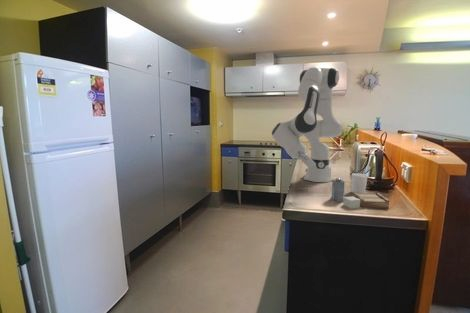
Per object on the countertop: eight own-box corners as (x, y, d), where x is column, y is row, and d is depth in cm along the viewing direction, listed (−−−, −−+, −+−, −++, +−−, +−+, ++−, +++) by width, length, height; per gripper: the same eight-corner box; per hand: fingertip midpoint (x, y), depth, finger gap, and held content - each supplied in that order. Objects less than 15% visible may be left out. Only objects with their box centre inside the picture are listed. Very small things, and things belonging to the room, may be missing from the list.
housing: (330, 198, 136) (331, 177, 134) (341, 198, 135) (342, 177, 133) (333, 201, 130) (334, 179, 129) (344, 201, 130) (345, 180, 128)
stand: (352, 199, 134) (353, 192, 133) (377, 200, 132) (378, 192, 132) (361, 207, 122) (361, 199, 121) (388, 208, 121) (389, 200, 120)
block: (343, 205, 125) (343, 197, 125) (352, 204, 126) (353, 196, 126) (350, 208, 120) (350, 200, 120) (359, 208, 122) (360, 199, 121)
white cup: (367, 192, 147) (368, 174, 145) (364, 195, 140) (366, 177, 139) (351, 189, 151) (353, 172, 150) (348, 193, 145) (350, 175, 143)
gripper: (305, 148, 120) (326, 170, 121) (299, 144, 141) (317, 162, 141) (295, 158, 122) (316, 179, 122) (290, 152, 142) (308, 170, 142)
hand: (316, 170), depth 132 cm, fingers open, 8 cm apart
